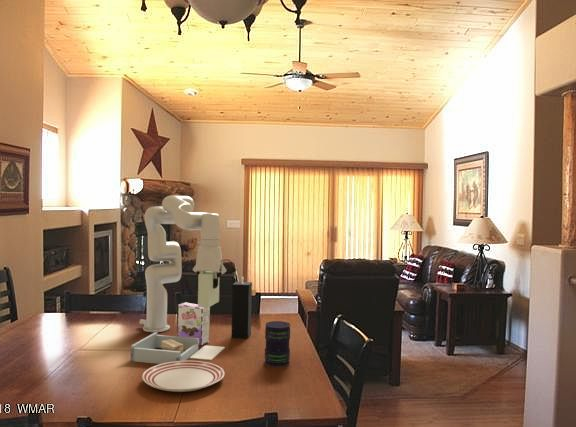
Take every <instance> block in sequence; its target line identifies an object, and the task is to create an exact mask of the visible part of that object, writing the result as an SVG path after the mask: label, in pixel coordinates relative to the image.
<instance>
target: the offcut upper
mask: <svg viewBox="0 0 576 427" xmlns="http://www.w3.org/2000/svg"><path fill="white" fill-rule="evenodd" d="M160 350H170V351H181V354H182V353H183V352H184V350H183V344H181V343H178V342H176V341H174V340H172V339H168V340H164V341H161V349H160Z"/></svg>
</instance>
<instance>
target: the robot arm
mask: <svg viewBox="0 0 576 427" xmlns="http://www.w3.org/2000/svg"><path fill="white" fill-rule="evenodd" d="M161 202H162V203H161V206H159V205H155V206H149V207H148V208H147V209H146V210H145V213H144V224H145V229H146V231H147V256H148V259H149V260H150V261H151V262H166V261H167V262H168V263H158V264H157V263H156V264H151V265H149V266H147V267H146V268H145V271H144V275H145V276H144V277H145V283H146V319H142V318H141V319H139V325H143V327H142V330H143V332H146V333H155V332H157V333H161V332H166V331H168V330H170V329H171V325H169V324H168V292H167V289H166V287H164V284H171V283H177V282H179V281H180V280H181V279H182V273H183V272H182V270H183V269H182V267H183V266H182V250H181V246H180V244H179V242H177V241H172V240H171V241H167V232H166V230H165V228H164V227H163V226H162V225H176V226H177V227H178V228H180V229H182V230H185V231H200V239H198V240H197V244H199V245H200V246H198V247H197V248H198V249H197V252H196V259H195V265H194V267H192V271H193V272H195V273H196V275H197V276H198V275H199V274H201V273H203V272H206V271H209V272H213V273H214V279H213V289H215V288H217V286H218V278H219V279H220V277H221V276H222V275H224V274H225V273H226V272H228V271H227V268H226V267H225V265H224V263H223V253H222V247H221V246H220V231H221V230H220V229H221V228H220V227H221V226H220V225H221V224H220V222H221V220H220V219H221V217H220V215H219V213H211V212H205V211H204V212H203V211H202V212H201V211H200V212H197V211H195V212H193V211H194V209H195V201H194V199H193V198H192V197H191V196H188V195H173V194H172V195H171V194H170V195H167V196H166V197H164V198H163V199H162V201H161ZM219 271H220V272H219Z"/></svg>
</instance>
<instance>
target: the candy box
mask: <svg viewBox="0 0 576 427" xmlns="http://www.w3.org/2000/svg"><path fill="white" fill-rule="evenodd" d="M210 313H211V306H210V307H209V308H207V307H198V303H197V304H196V303H190V302H187V301H185V302H181V303H180V304H177V336H178V337H190V338H199V346H203V345H204V346H205V344H206V345H207V344H209V343H210V321H211V320H210V316H211V315H210Z"/></svg>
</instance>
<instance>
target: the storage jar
mask: <svg viewBox="0 0 576 427" xmlns="http://www.w3.org/2000/svg"><path fill="white" fill-rule="evenodd" d="M264 334H265V335H264V337H265V348H264V364H265V365H266V366H269V367H271V368H272V367H273V368H283V367H286V366H288V365H289V366H290V357H291V353H290V352H291V349H290V339H291V323H289V322H287V321H282V320H281V321H280V320H279V321H278V320H274V321H268V322H265V330H264Z"/></svg>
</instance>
